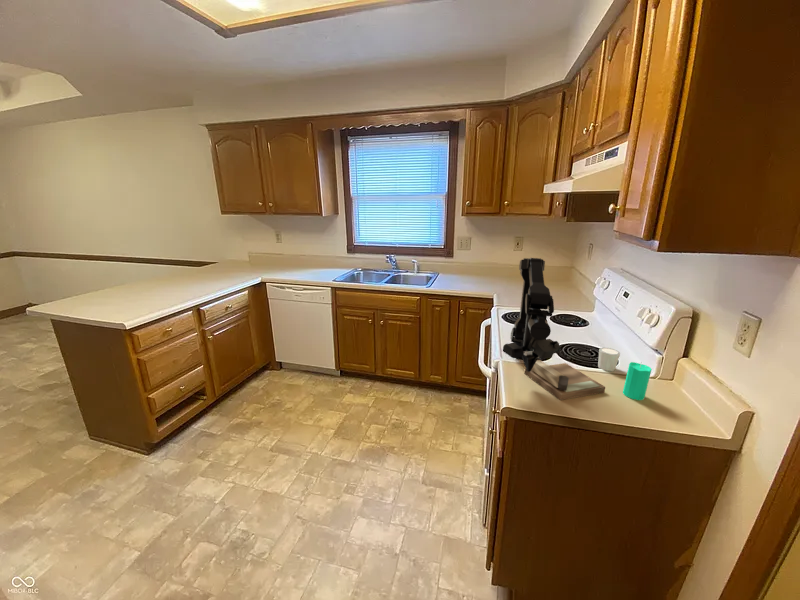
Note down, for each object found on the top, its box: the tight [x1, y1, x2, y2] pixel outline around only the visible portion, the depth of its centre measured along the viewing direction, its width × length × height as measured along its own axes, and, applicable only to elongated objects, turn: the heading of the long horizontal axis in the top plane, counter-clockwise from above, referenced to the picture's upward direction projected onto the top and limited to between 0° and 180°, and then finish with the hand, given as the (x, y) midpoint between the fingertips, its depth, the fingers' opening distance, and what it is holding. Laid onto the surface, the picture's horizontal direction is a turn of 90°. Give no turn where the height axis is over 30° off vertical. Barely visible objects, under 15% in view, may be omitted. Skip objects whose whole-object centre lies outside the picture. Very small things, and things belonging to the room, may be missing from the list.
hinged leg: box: [532, 359, 569, 390], centre depth 118 cm, size 15×3×4 cm, turn 17°
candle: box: [622, 361, 652, 401], centre depth 113 cm, size 6×6×12 cm
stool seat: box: [524, 362, 606, 401], centre depth 121 cm, size 18×18×2 cm
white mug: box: [597, 347, 621, 372], centre depth 132 cm, size 7×7×7 cm
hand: (528, 371), depth 119 cm, fingers closed
